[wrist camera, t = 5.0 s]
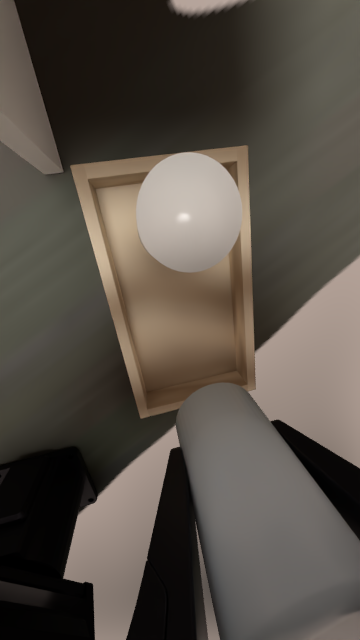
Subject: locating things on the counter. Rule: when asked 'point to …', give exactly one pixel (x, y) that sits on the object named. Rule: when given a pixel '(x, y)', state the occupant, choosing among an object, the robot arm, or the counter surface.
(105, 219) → the tray
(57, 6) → the counter surface
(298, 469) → the grey rounded cylinder
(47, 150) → the white l-shaped bracket
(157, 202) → the white rounded cylinder
